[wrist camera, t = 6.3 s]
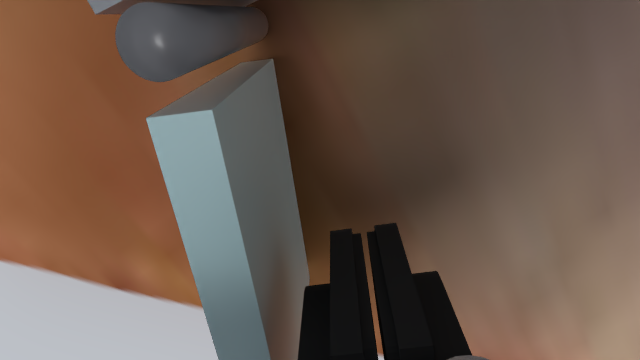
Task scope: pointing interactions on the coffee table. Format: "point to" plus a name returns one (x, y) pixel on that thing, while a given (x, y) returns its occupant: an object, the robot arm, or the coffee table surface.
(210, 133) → the side door
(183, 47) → the housing
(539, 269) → the coffee table surface
